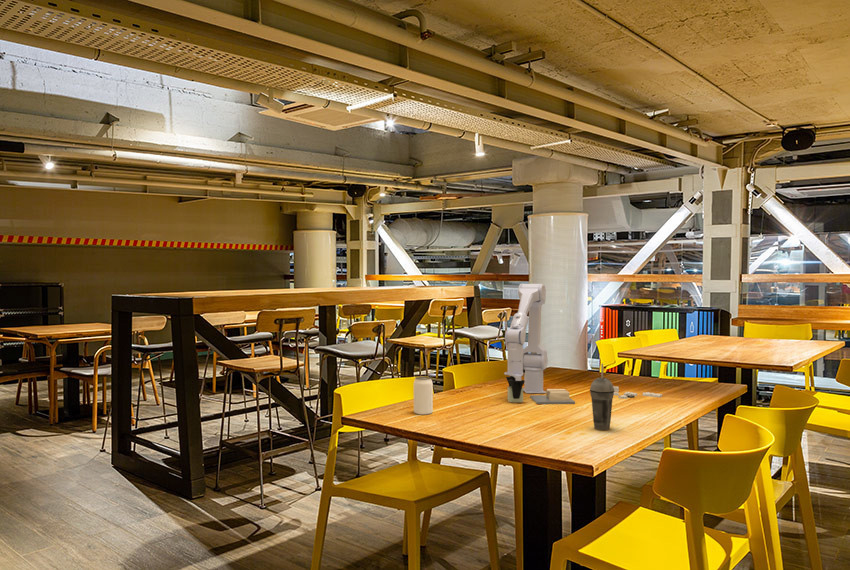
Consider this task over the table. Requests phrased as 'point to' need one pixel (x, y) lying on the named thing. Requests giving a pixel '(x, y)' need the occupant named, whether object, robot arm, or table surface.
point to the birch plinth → (557, 394)
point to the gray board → (544, 400)
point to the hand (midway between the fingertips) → (515, 397)
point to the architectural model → (633, 394)
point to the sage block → (510, 396)
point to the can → (423, 395)
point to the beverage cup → (602, 402)
